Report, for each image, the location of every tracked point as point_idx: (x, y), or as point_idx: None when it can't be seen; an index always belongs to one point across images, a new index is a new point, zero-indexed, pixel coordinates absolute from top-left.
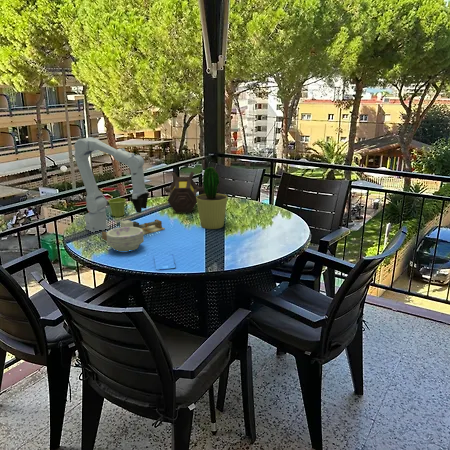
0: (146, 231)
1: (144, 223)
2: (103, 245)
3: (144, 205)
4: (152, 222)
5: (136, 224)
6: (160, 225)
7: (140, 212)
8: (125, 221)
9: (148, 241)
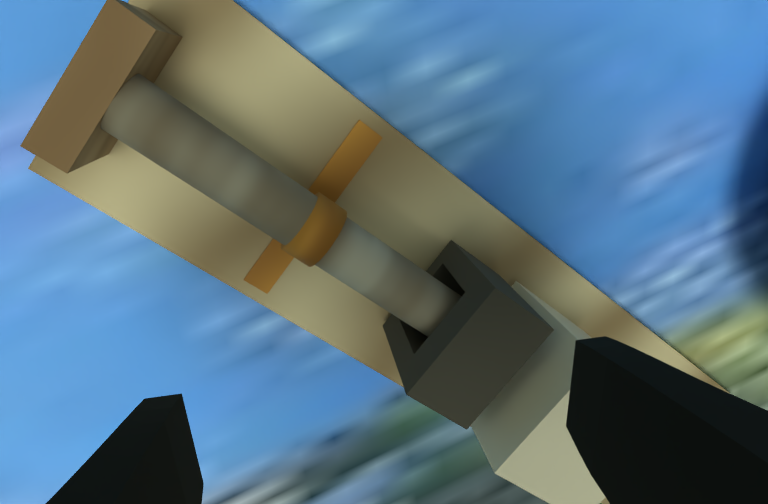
0: (374, 179)
1: (320, 257)
2: (762, 406)
3: (167, 488)
4: (220, 155)
5: (523, 307)
6: (158, 23)
7: (612, 342)
8: (576, 465)
9: (685, 20)
